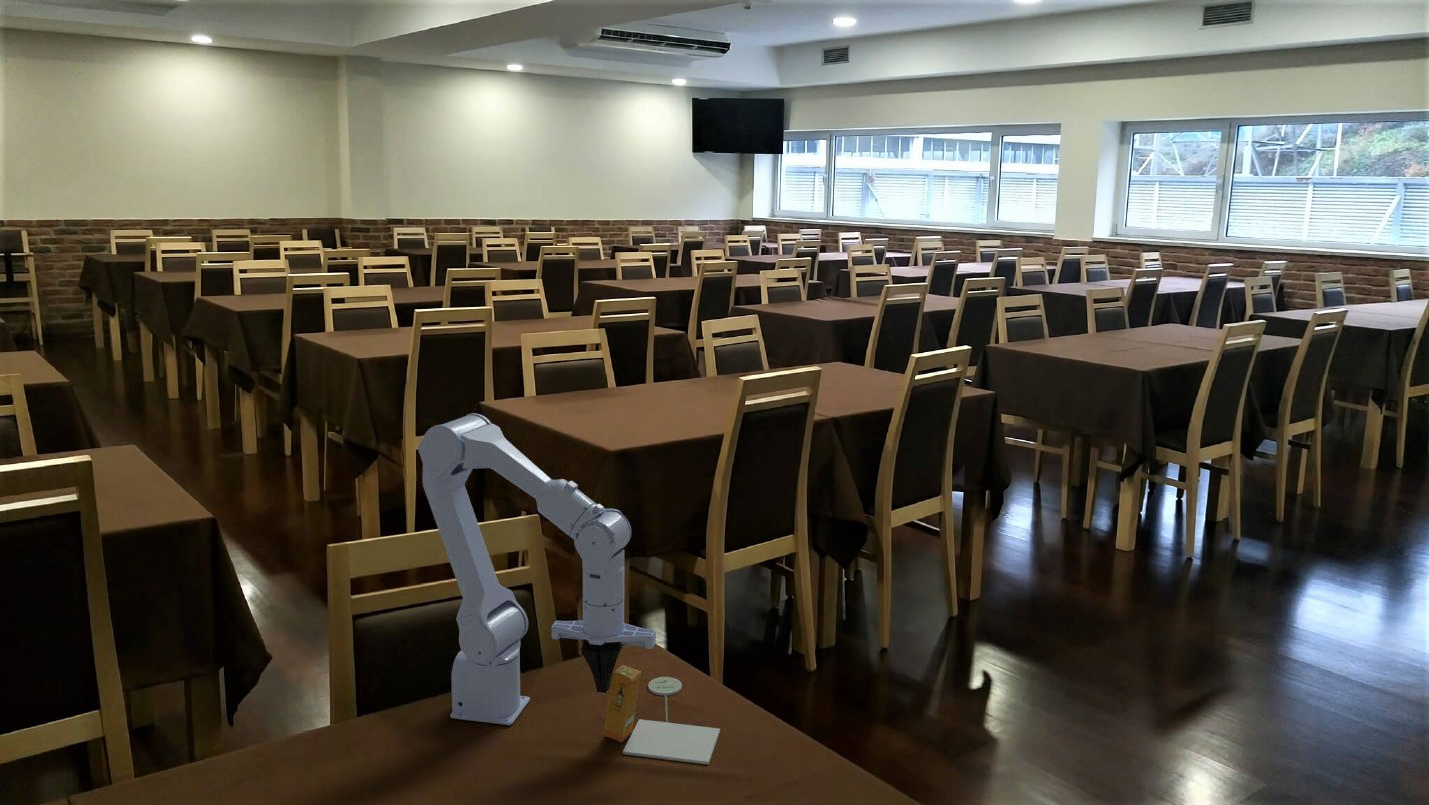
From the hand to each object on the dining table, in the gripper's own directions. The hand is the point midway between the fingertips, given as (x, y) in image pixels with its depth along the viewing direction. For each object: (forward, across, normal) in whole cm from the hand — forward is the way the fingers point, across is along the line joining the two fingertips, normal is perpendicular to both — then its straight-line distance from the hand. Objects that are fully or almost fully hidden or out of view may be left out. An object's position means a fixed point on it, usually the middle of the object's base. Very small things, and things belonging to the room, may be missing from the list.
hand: (603, 689), depth 147 cm
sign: (+8, +7, +11) cm, 15 cm away
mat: (+7, +10, 0) cm, 12 cm away
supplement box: (+7, +2, 0) cm, 7 cm away
